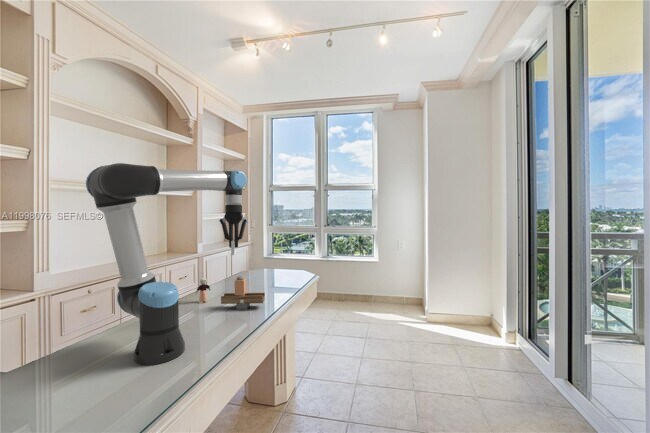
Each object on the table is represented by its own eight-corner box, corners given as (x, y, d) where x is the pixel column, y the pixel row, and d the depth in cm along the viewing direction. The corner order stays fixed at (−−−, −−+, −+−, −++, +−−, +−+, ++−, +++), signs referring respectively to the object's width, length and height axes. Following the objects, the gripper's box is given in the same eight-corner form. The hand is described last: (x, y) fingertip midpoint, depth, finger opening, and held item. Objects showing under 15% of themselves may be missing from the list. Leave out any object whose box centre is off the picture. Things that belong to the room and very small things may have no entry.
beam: (262, 309, 146) (262, 296, 146) (220, 310, 146) (220, 296, 146) (265, 305, 153) (264, 292, 153) (225, 305, 153) (225, 292, 153)
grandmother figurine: (199, 304, 155) (198, 279, 154) (195, 303, 157) (194, 278, 157) (212, 300, 161) (212, 277, 160) (208, 299, 163) (208, 276, 163)
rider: (244, 298, 147) (243, 278, 147) (234, 298, 147) (234, 278, 147) (246, 295, 152) (245, 276, 151) (237, 295, 151) (236, 276, 151)
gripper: (249, 204, 146) (249, 253, 146) (222, 204, 146) (222, 253, 146) (245, 204, 138) (245, 255, 139) (216, 204, 138) (216, 255, 139)
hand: (233, 254), depth 142 cm, fingers closed
